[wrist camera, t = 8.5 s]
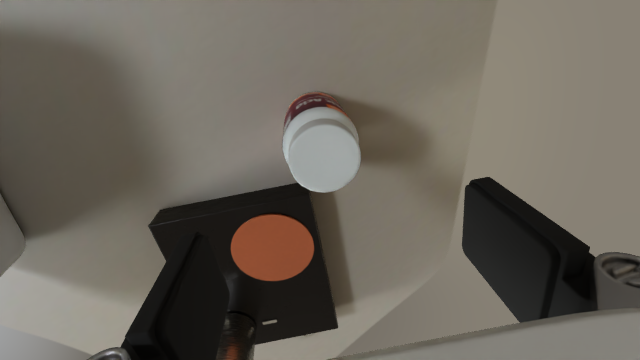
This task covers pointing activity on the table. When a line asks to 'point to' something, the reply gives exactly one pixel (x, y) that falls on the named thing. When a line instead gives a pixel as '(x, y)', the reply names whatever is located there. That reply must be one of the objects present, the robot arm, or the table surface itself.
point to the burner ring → (272, 247)
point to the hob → (248, 292)
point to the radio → (9, 238)
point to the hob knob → (237, 338)
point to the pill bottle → (320, 143)
